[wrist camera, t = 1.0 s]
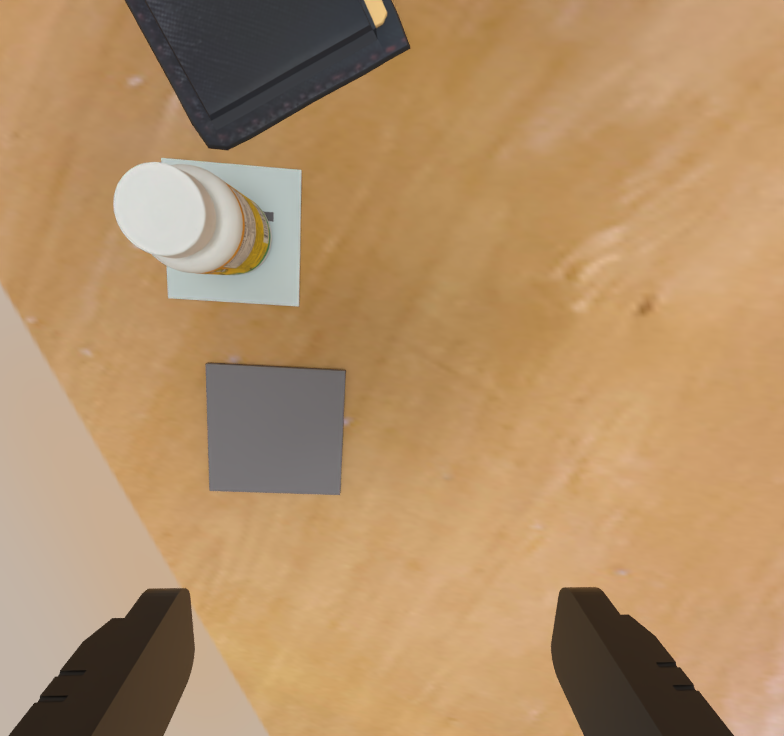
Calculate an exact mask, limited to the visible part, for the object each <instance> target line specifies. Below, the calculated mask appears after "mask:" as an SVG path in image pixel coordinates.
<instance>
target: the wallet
mask: <svg viewBox="0 0 784 736" xmlns="http://www.w3.org/2000/svg"><path fill="white" fill-rule="evenodd" d="M125 1H126V3H127V5H128V7H129V9H130V10H131V12H132V14H133V16H134V18H135V20H136V21H137V23H138V25H139V27H140V29H141V31H142V32H143V34H144V36H145V38H146V40H147V42H148V43H149V45H150V47H151V49H152V51H153V52H154V54H155V56H156V58H157V60H158V62H159V63H160V65H161V67H162V69H163V71H164V73H165V74H166V76H167V78H168V80H169V82H170V83H171V85H172V87H173V89H174V91H175V93H176V95H177V97H178V98H179V100H180V102H181V104H182V106H183V108H184V110H185V112H186V114H187V116H188V117H189V119H190V121H191V123H192V125H193V126H194V128H195V129H196V131H197V132H198V133H199V135H200V136H201V138H202V139H203V141H204V142H205V144H206V145H207V146H208V148H212V149H221V150H229V149H231V148H233V147H235V146H237V145H239V144H241V143H243V142H245V141H247V140H249V139H251V138H253V137H255V136H256V135H258V134H260V133H262V132H263V131H265V130H267V129H268V128H270V127H272V126H274V125H275V124H277V123H279V122H280V121H282V120H284V119H286V118H287V117H289V116H291V115H292V114H294V113H296V112H298V111H299V110H301V109H303V108H304V107H306V106H308V105H310V104H311V103H313V102H315V101H317V100H318V99H320V98H322V97H324V96H326V95H328V94H330V93H331V92H333V91H335V90H337V89H339V88H341V87H343V86H344V85H346V84H348V83H350V82H352V81H354V80H355V79H357V78H359V77H361V76H363V75H365V74H366V73H368V72H370V71H372V70H373V69H375V68H377V67H378V66H380V65H382V64H383V63H385V62H387V61H388V60H390V59H392V58H394V57H396V56H397V55H399V54H401V53H403V52H405V51H406V50H408V49H410V45H409V42H408V40H407V37H406V34H405V32H404V29H403V26H402V24H401V21H400V18H399V16H398V13H397V11H396V9H395V7H394V5H393V3H392V0H125Z"/></svg>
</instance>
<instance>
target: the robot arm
mask: <svg viewBox="0 0 784 736" xmlns="http://www.w3.org/2000/svg"><path fill="white" fill-rule="evenodd" d="M194 651H195V646H194V634H193V622H192V611H191V600H190V593H189V591H188V589H186V588H170V589H147V590H146V591H145V592H144V593H143V594H142V595H141V596H140V597H139V599H138V600H137V602H136V603H135V604H134V606H133V607H132V609H131V610H130V611H129V613H128V614H127V615H126V617H125V618H112V619H111V620H110V621H108V622H107V623H106V624H105V625H103V626H102V627H101V628H100V629H98V630H97V631H96V632H95V633H93V634H92V635H91V636H90V637H88V638H87V639H86V640H85V641H83V642H82V644H81V645H80V646H79V648H78V649H77V650H76V651H75V653H74V654H73V655H72V657H71V658H70V659H69V660H68V661H67V663H66V664H65V665H64V666H63V668H62V669H61V670H60V674H59V676H58V677H55V678H54V679H53V681H52V682H51V683H50V684H49V685H48V687H47V688H46V689H45V690H44V692H43V693H42V694H41V695H40V699H39V701H38V702H37V703H34V704H33V706H32V707H31V708H30V709H29V711H28V712H27V713H26V715H25V716H24V717H23V718H22V719H21V721H20V722H19V723H18V724H17V726H16V727H15V728H14V729H13V731H12V732H11V733H10V735H9V736H163V735H164V733H165V731H166V729H167V727H168V724H169V722H170V720H171V718H172V716H173V713H174V711H175V709H176V707H177V704H178V702H179V700H180V698H181V696H182V694H183V691H184V689H185V687H186V684H187V682H188V679H189V676H190V673H191V670H192V665H193V659H194ZM551 653H552V660H553V665H554V669H555V672H556V675H557V678H558V680H559V682H560V685H561V687H562V689H563V691H564V693H565V695H566V698H567V700H568V702H569V704H570V706H571V708H572V711H573V713H574V715H575V717H576V719H577V721H578V723H579V726H580V728H581V730H582V732H583V734H584V736H734V735H733V734H732V733H731V731H730V730H729V729H728V728H727V726H726V725H725V724H724V722H723V721H722V720H721V719H720V717H719V716H718V715H717V714H716V712H715V711H714V710H713V709H712V707H711V706H710V705H709V703H708V702H707V701H706V700H705V698H704V697H703V696H702V695H701V693H700V692H699V691H696V690H695V689H694V685H693V683H692V682H691V681H690V679H689V678H688V677H687V676H686V674H685V673H684V672H683V671H682V669H681V668H680V667H677V666H676V662H675V661H674V659H673V658H672V657H671V655H670V654H669V653H668V652H667V650H666V649H665V648H664V647H663V645H662V644H661V643H660V642H659V640H658V639H657V638H656V636H654V635H653V634H652V633H651V632H650V631H648V630H647V629H646V628H645V627H643V626H642V625H641V624H640V623H638V622H637V621H636V620H635V619H634V618H632V617H631V616H630V615H620V614H619V612H618V611H617V609H616V608H615V607H614V605H613V604H612V603H611V601H610V600H609V599H608V597H607V596H606V595H605V593H604V592H603V591H602V590H601V589H599V588H596V587H570V588H562V589H561V590H560V592H559V597H558V603H557V610H556V616H555V622H554V629H553V635H552V642H551Z"/></svg>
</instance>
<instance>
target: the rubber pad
mask: <svg viewBox="0 0 784 736" xmlns="http://www.w3.org/2000/svg"><path fill="white" fill-rule="evenodd" d="M345 373H346V370H334V369H315V368H296V367H278V366H259V365H240V364H221V363H206V392H207V424H208V456H209V488H210V491H232V492H263V493H294V494H325V495H340V488H341V465H342V442H343V419H344V396H345Z"/></svg>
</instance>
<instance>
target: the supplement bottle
mask: <svg viewBox="0 0 784 736" xmlns="http://www.w3.org/2000/svg"><path fill="white" fill-rule="evenodd" d="M114 213H115V217H116V220H117V223H118V225H119V227H120V229H121V230H122V232H123V233H124V235H125V236H126V237H127V238H128V239H129V240H130V241H131V242H132V243H133V244H134V245H135V246H137V247H138V248H140V249H141V250H143V251H145V252H148V253H150V254H152V255H153V256H154V257H155V258H156V259H157V260H159V261H160V262H162V263H163V264H165V265H166V266H168V267H170V268H173V269H175V270H178V271H182V272H187V273H197V274H216V275H241V274H246V273H249V272H252V271H254V270H255V269H257V268H258V267H259V266H260V265H261V264H262V263H263V262H264V261H265V259H266V258H267V256H268V254H269V251H270V248H271V242H272V234H271V228H270V224H269V221H268V219H267V217H266V215H265V214H264V212H263V211H262V209H261V208H260V207H259V206H258V205H257V204H256V203H255V202H254V201H252V200H251V199H249V198H248V197H246V196H245V195H243V194H242V193H240V192H239V191H238V190H236V189H235V188H233V187H232V186H230V185H229V184H227V183H226V182H225V181H223V180H222V179H220V178H219V177H217V176H216V175H214V174H213V173H211V172H210V171H208V170H205V169H203V168H200V167H197V166H194V165H188V164H175V165H169V164H165V163H160V162H148V163H143V164H140V165H137V166H135V167H133V168H132V169H130V170H129V171H128V172H126V173H125V175H123V177H122V178H121V180H120V181H119V183H118V185H117V187H116V190H115V194H114Z"/></svg>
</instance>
